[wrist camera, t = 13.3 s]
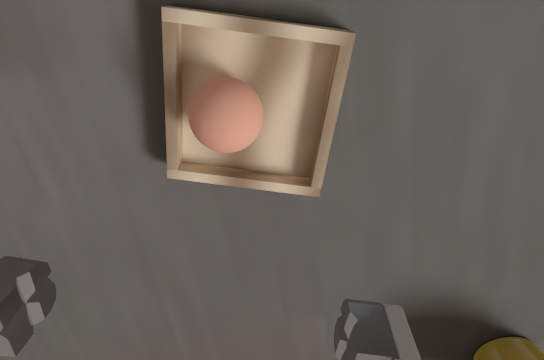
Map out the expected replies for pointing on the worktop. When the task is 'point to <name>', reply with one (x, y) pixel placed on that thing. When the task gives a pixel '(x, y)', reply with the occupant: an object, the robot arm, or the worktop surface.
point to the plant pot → (509, 350)
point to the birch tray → (269, 87)
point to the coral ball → (225, 114)
